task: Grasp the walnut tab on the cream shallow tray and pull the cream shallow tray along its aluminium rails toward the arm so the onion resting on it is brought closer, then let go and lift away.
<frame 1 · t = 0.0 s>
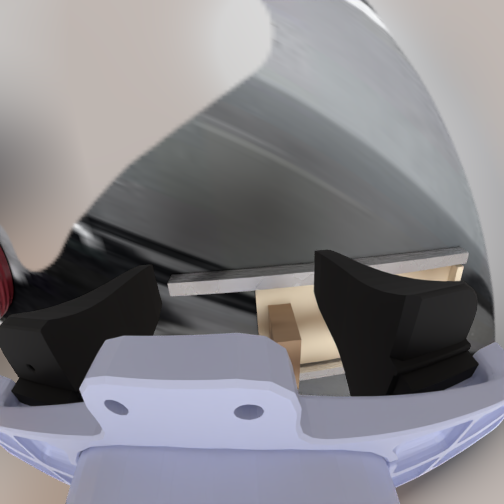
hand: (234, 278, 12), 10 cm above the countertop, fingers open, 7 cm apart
guide rails: (366, 315, 25), on the countertop
cream shallow tray: (376, 331, 23), point 3 cm above the countertop, slide at 0.0 cm, touching onion
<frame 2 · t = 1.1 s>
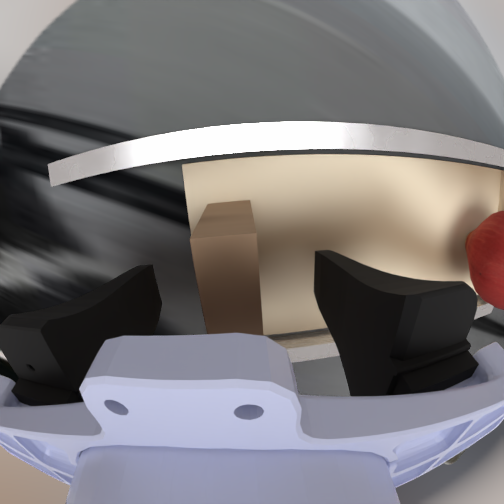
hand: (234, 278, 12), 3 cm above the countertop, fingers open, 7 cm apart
guide rails: (391, 242, 14), on the countertop
cream shallow tray: (416, 262, 12), point 3 cm above the countertop, slide at 0.0 cm, touching onion
onion: (466, 238, 14), resting on cream shallow tray
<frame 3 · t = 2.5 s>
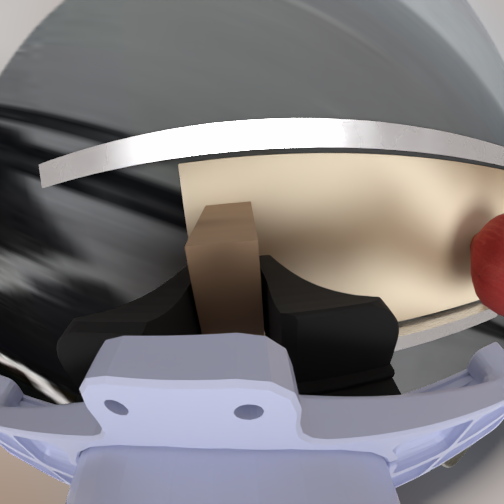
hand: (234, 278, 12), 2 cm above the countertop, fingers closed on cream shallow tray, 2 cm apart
guide rails: (398, 246, 14), on the countertop
cream shallow tray: (424, 267, 11), point 3 cm above the countertop, slide at 0.0 cm, touching gripper, onion
onion: (472, 240, 13), resting on cream shallow tray
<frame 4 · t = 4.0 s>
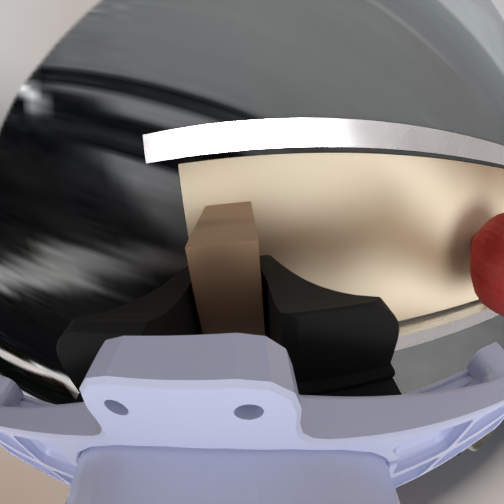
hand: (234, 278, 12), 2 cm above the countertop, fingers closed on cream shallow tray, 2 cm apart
guide rails: (465, 238, 14), on the countertop
cream shallow tray: (425, 266, 11), point 3 cm above the countertop, slide at 5.9 cm, touching gripper, onion
onion: (472, 239, 13), resting on cream shallow tray
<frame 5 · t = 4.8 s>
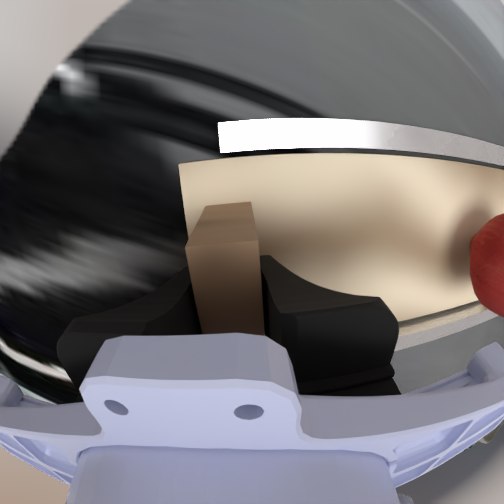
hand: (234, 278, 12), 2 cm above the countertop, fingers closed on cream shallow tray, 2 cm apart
guide rails: (489, 236, 14), on the countertop
cream shallow tray: (424, 267, 11), point 3 cm above the countertop, slide at 9.0 cm, touching gripper, onion
onion: (471, 240, 13), resting on cream shallow tray
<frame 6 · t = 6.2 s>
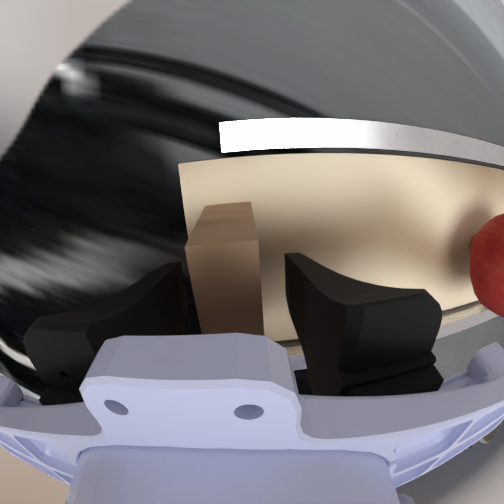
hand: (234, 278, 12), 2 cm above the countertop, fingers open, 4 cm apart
guide rails: (489, 237, 14), on the countertop
cream shallow tray: (424, 267, 11), point 3 cm above the countertop, slide at 9.0 cm, touching onion
onion: (471, 240, 13), resting on cream shallow tray
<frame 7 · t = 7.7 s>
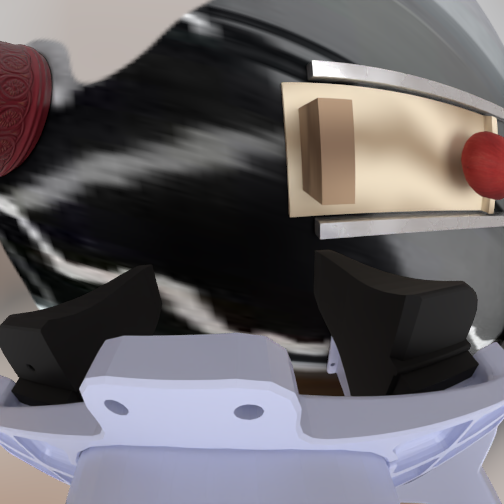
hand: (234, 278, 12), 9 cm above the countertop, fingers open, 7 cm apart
canister: (11, 110, 15), on the countertop
guide rails: (476, 161, 19), on the countertop
cream shallow tray: (431, 155, 16), point 3 cm above the countertop, slide at 9.0 cm, touching onion
onion: (462, 158, 19), resting on cream shallow tray
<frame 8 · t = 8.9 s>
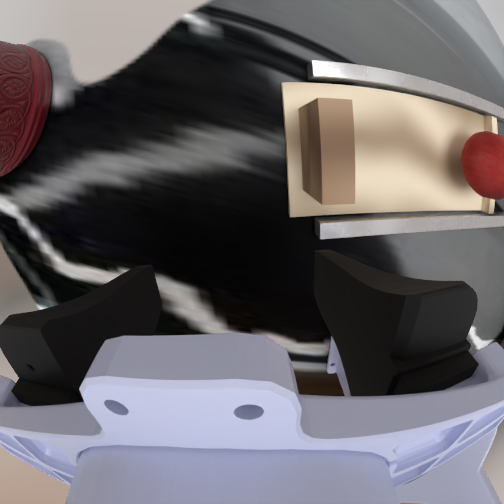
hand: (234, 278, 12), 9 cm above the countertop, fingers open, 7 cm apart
canister: (11, 110, 15), on the countertop
guide rails: (476, 161, 19), on the countertop
cream shallow tray: (431, 155, 16), point 3 cm above the countertop, slide at 9.0 cm, touching onion
onion: (462, 159, 19), resting on cream shallow tray
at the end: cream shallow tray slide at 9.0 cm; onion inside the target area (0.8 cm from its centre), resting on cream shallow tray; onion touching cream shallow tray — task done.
